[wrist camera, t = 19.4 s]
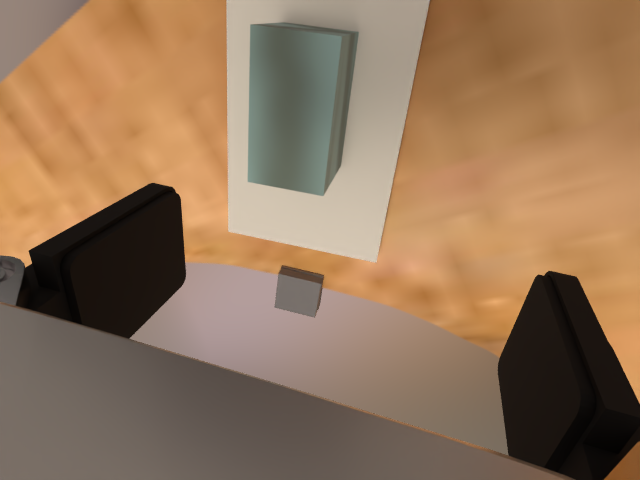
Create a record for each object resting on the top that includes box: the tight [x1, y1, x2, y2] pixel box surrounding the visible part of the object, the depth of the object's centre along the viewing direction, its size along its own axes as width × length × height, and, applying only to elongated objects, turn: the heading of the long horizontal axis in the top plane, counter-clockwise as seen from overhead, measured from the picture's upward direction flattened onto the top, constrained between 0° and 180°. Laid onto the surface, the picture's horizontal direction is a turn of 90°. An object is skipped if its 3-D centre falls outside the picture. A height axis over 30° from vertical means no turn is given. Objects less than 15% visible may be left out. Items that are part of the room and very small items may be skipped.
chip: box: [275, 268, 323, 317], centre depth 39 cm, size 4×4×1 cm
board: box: [227, 0, 430, 263], centre depth 30 cm, size 13×24×2 cm, turn 173°
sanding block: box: [248, 22, 359, 196], centre depth 27 cm, size 5×9×6 cm, turn 173°
